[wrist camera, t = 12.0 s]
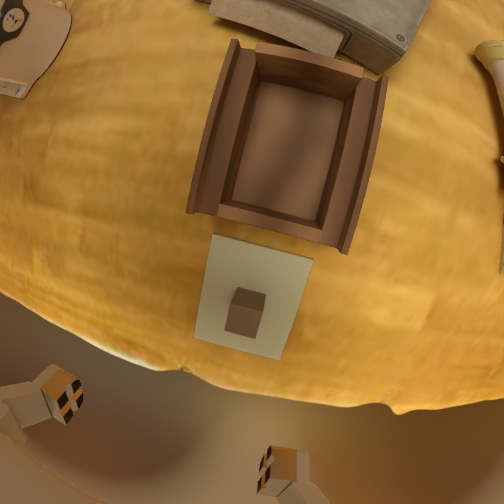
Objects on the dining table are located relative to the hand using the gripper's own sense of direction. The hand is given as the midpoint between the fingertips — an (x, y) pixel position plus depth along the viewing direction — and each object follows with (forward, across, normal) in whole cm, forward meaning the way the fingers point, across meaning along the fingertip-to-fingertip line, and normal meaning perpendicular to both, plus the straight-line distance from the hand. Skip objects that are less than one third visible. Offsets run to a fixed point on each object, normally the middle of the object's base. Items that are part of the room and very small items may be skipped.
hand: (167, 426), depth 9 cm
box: (+20, -2, -13) cm, 24 cm away
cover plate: (+21, -2, +3) cm, 21 cm away
